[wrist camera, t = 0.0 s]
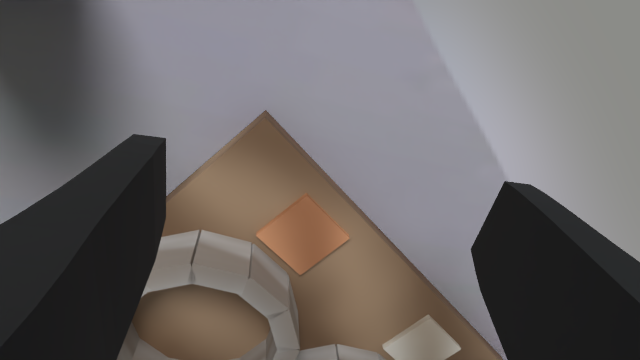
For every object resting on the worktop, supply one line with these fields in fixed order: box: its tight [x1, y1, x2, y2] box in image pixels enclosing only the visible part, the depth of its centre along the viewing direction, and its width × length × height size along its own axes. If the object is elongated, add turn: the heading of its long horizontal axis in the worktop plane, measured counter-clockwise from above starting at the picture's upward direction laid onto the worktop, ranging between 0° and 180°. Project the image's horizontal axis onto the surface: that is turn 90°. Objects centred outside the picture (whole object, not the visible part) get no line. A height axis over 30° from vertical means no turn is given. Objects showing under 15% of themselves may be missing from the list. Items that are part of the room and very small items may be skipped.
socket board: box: [117, 110, 503, 360], centre depth 24 cm, size 14×20×4 cm
